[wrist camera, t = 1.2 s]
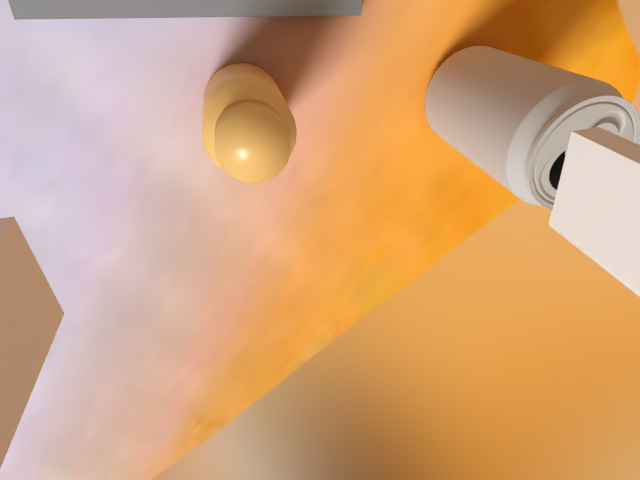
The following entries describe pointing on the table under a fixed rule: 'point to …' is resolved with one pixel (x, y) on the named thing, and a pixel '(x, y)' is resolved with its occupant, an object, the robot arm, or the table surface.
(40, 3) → the collar board
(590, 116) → the beverage can
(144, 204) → the table surface
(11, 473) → the table surface
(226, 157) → the nesting doll
